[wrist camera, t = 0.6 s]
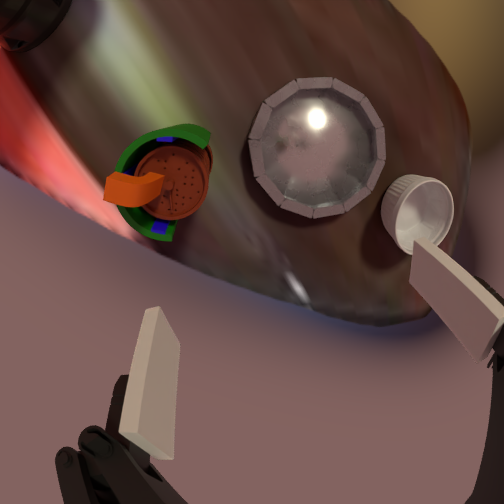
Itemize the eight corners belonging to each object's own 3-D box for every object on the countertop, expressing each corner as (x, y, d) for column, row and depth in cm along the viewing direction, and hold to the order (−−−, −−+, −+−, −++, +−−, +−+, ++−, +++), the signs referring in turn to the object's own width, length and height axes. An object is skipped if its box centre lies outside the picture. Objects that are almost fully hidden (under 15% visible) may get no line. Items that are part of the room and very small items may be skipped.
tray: (218, 135, 35) (218, 136, 33) (328, 56, 31) (335, 53, 28) (302, 234, 44) (307, 242, 41) (395, 162, 39) (404, 165, 37)
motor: (208, 196, 39) (200, 269, 22) (147, 191, 38) (95, 258, 20) (217, 126, 35) (216, 136, 17) (153, 121, 33) (92, 130, 16)
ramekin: (377, 247, 47) (397, 267, 41) (368, 179, 41) (391, 191, 34) (431, 226, 46) (452, 241, 40) (427, 161, 40) (453, 171, 34)
